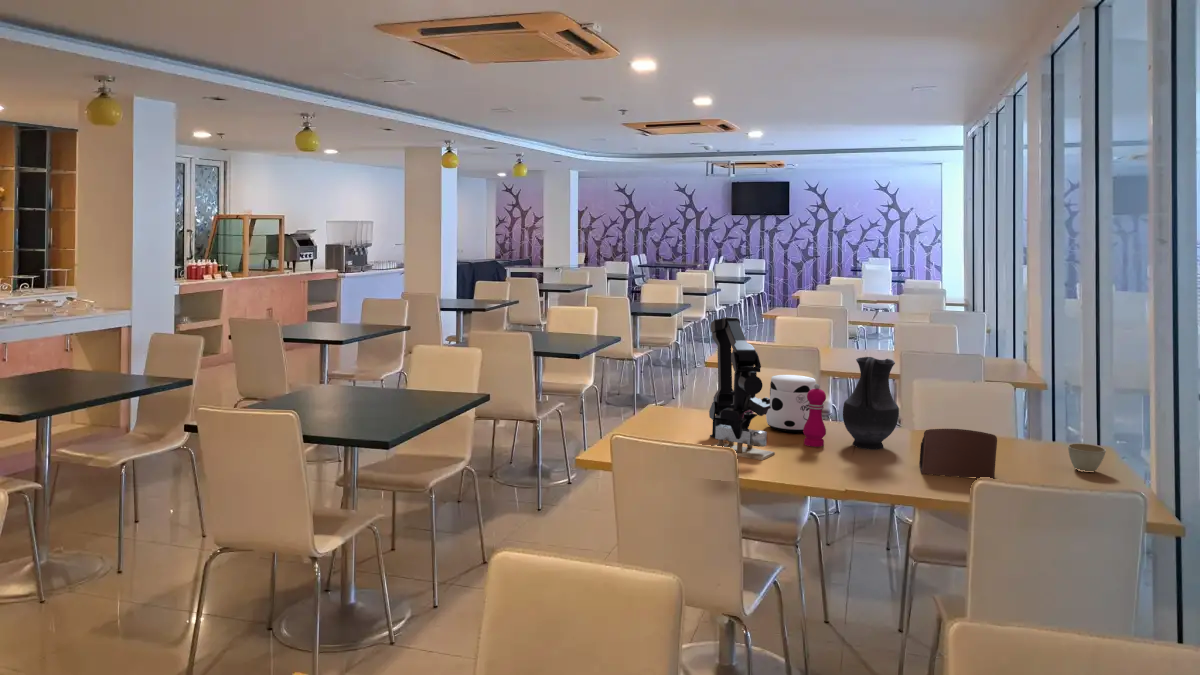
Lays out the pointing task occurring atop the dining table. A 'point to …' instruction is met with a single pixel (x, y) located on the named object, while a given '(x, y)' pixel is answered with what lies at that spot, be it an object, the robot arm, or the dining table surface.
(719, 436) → the round-headed grey paddle
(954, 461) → the letter holder
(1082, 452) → the grey bowl
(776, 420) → the milk container
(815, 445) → the pepper mill
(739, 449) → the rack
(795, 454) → the dining table surface
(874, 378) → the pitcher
